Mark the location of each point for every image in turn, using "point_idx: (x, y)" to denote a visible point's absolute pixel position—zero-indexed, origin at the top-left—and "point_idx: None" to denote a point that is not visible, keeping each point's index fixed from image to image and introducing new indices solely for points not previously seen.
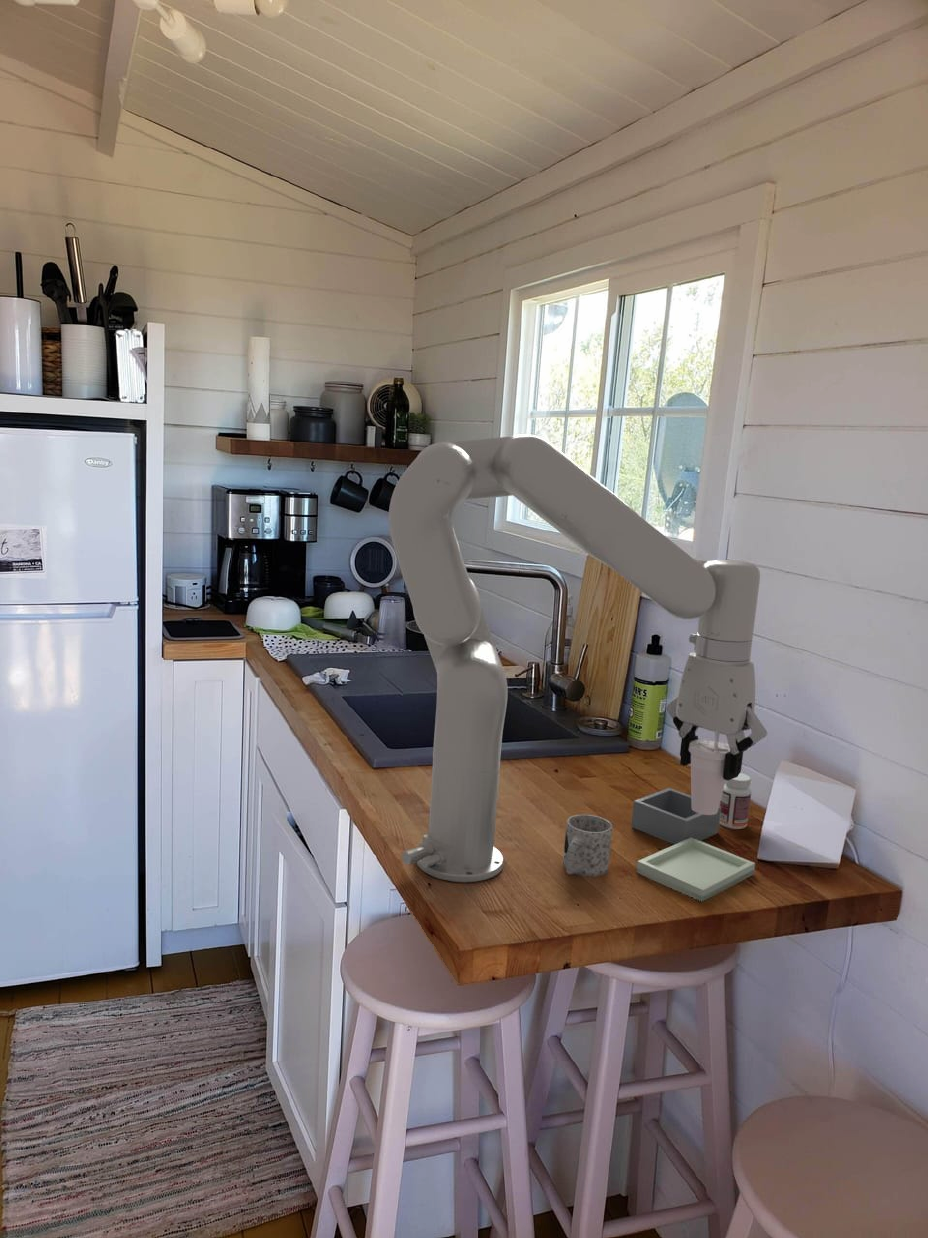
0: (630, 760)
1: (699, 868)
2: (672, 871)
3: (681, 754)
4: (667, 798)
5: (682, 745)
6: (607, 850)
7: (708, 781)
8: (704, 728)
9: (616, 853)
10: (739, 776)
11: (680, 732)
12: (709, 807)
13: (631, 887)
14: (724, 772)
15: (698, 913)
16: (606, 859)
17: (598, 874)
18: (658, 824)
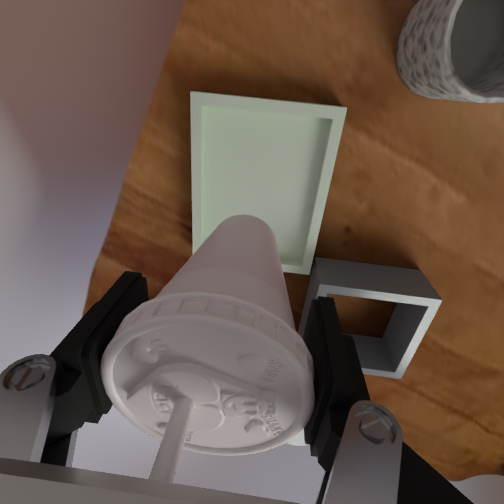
0: (492, 449)
1: (254, 196)
2: (283, 147)
3: (338, 325)
4: (392, 357)
5: (345, 360)
6: (417, 38)
7: (199, 255)
8: (159, 484)
9: (408, 155)
10: (296, 436)
11: (390, 435)
12: (215, 229)
13: (323, 30)
14: (126, 286)
15: (177, 40)
16: (408, 40)
17: (407, 17)
18: (372, 276)
